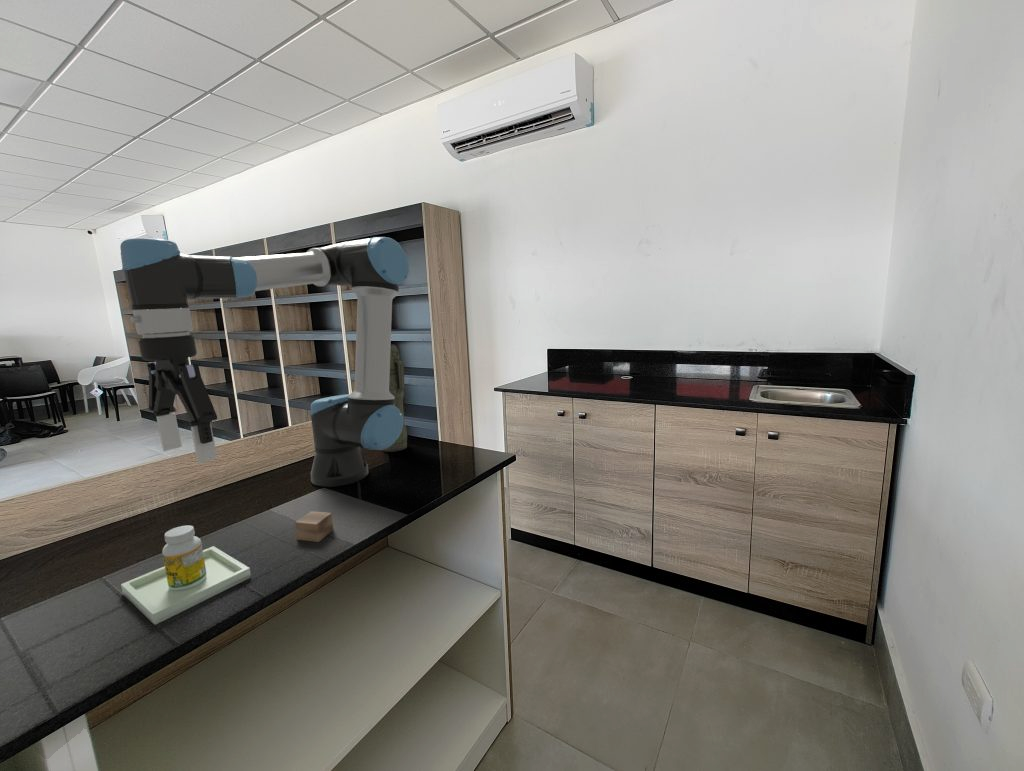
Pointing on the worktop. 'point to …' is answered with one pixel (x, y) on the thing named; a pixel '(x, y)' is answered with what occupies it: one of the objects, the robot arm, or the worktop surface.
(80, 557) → the worktop surface
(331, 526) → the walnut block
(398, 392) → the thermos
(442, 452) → the worktop surface
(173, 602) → the tray
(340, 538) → the worktop surface
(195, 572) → the supplement bottle
